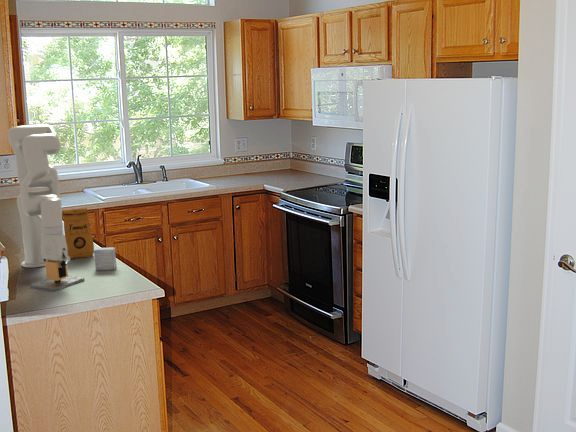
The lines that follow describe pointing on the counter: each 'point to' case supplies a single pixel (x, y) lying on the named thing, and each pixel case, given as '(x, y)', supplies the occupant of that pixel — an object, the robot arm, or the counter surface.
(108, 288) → the counter surface
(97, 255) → the medicine box
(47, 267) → the light orange block
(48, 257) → the robot arm
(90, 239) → the coffee package
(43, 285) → the base
